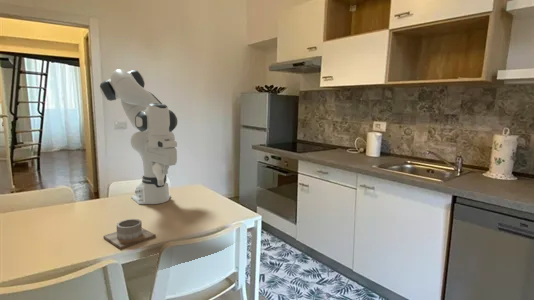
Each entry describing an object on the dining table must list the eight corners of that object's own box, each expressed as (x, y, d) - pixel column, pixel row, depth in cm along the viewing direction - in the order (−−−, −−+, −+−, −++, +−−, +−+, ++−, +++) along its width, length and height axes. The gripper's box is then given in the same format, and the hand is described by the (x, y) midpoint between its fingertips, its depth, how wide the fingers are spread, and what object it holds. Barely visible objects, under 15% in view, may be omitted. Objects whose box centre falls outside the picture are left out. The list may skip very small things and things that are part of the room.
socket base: (103, 238, 118) (102, 223, 117) (137, 227, 129) (137, 214, 128) (120, 249, 109) (119, 233, 108) (155, 237, 120) (155, 222, 119)
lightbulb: (154, 188, 129) (152, 163, 127) (152, 185, 134) (151, 160, 133) (169, 186, 132) (168, 162, 130) (167, 183, 137) (166, 159, 136)
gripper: (140, 139, 134) (141, 169, 136) (166, 144, 121) (166, 177, 123) (153, 138, 139) (153, 167, 141) (179, 143, 126) (179, 175, 128)
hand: (160, 172), depth 132 cm, fingers closed on lightbulb, 6 cm apart
